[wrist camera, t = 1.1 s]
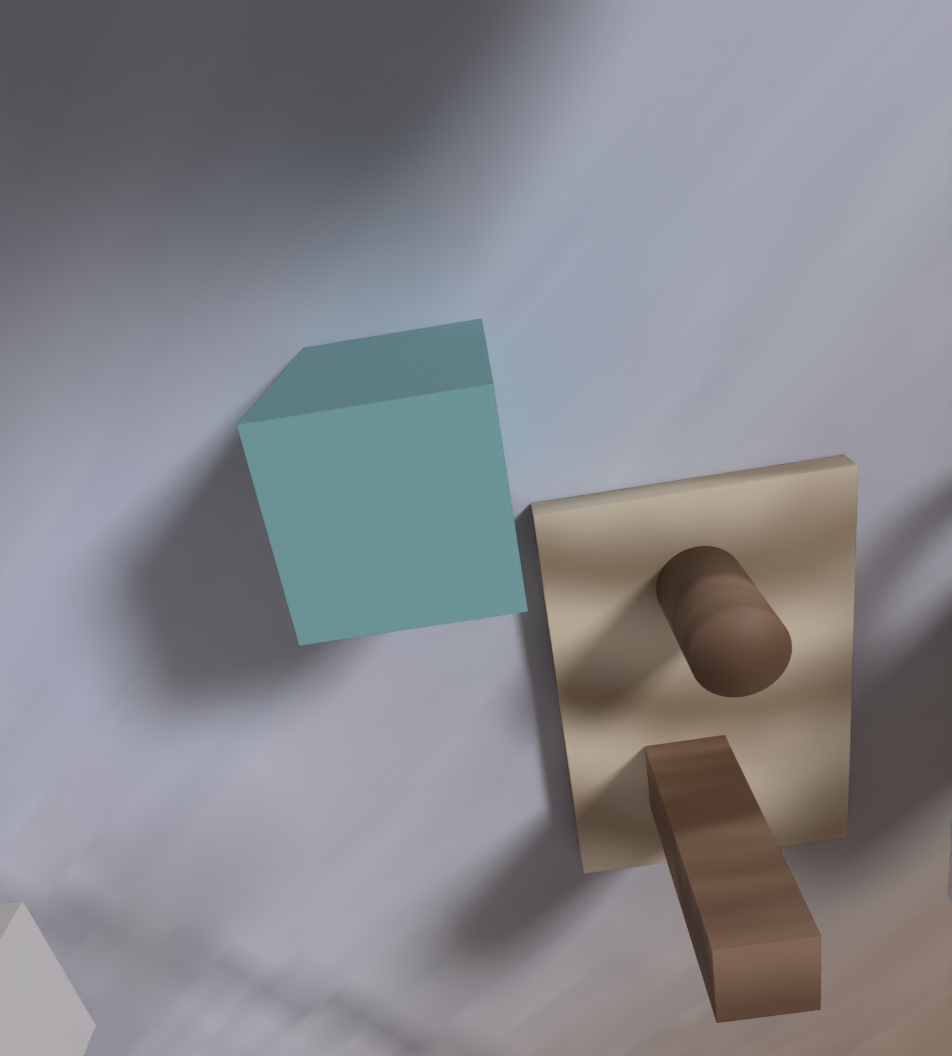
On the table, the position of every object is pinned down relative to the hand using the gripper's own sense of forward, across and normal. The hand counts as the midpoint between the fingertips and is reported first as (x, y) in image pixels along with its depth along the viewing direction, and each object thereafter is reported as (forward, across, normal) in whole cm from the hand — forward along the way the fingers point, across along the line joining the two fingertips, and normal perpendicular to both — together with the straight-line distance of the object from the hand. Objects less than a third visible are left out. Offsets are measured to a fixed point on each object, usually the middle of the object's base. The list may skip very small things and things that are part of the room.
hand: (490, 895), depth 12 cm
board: (+21, +7, -12) cm, 25 cm away
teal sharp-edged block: (+21, -2, +1) cm, 21 cm away
